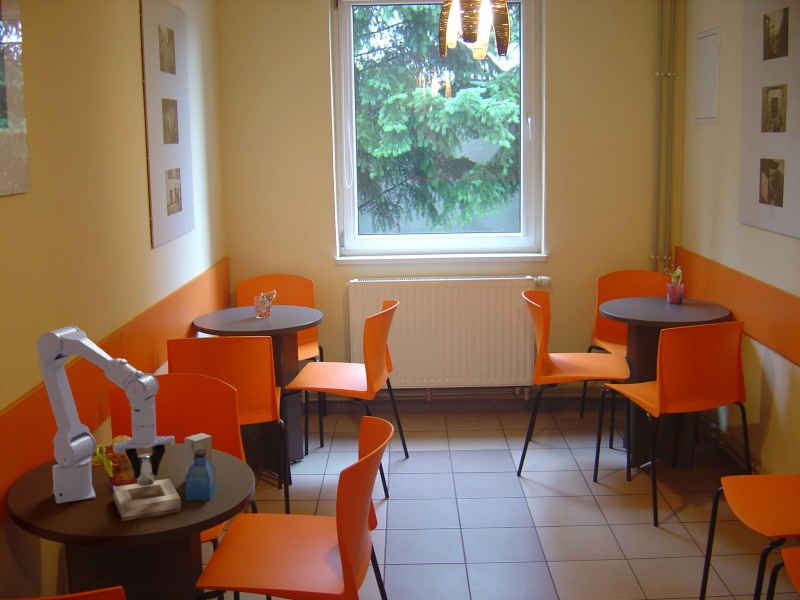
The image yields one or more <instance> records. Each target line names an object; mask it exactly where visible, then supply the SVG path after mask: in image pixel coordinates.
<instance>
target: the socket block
mask: <svg viewBox="0 0 800 600" xmlns="http://www.w3.org/2000/svg"><path fill="white" fill-rule="evenodd" d="M112 489H113V501H114V503H115V506H116V508H117V511H118V513H119V516H120V519H121V521H122V522H126V521H132V519H133V520H137V519H138V518H139V519H144V517H145V518H149V516H150V517H156V516H161V515H166V514H167V515H168V514H174V513H179V512H181V511H182V506H181V496H180V495H179V493H178V491H177V490H176V488H175V486H174V485H173V483H172V482H171V479H170V478H165V479H158V480H154V484H152V485H148V486H140V485H138V482H137V483H132V484H125V485H118V486H113V488H112ZM125 520H126V521H125Z"/></svg>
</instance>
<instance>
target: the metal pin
mask: <svg viewBox="0 0 800 600" xmlns="http://www.w3.org/2000/svg"><path fill="white" fill-rule="evenodd" d="M137 455H138V454H137ZM138 474H139V478H137V483H138V485H140V486H148V485H152V484H154V481H155V475H154V463H153V453H140V454H139V455H138Z"/></svg>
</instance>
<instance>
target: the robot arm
mask: <svg viewBox="0 0 800 600" xmlns="http://www.w3.org/2000/svg"><path fill="white" fill-rule="evenodd" d="M36 347H37V350H38V351H37V352H38V354H39V355H38V365H39V369H40V373H41V376H42V380H43V382H44V386H45V390H46V392H47V396H48V400H49V403H50V405H51V406H50V407H51V410H52V413H53V416H54V419H55V423H56V426H57V432H56V433H55V436H54V438H52V439H53V440H52V442H53V445H54V448H53V449H54V450H53V455H54V456H53V457H54V458H55V461H56V462H57V463H58V464H55V465H52V479H53V480H52V481H53V486H52V493H53V495H54V500H55V503H56V504H63V503H69V502H70V503H71V502H76V501H77V502H78V501H83V500H88V499H95V498H96V497H97V496H96V495H97V494H96V492H95V489H94V486H93V482H92V481H93V478H92V477H93V476H92V459H93V454H94V453H95V452H96V450H97V441H96V438H94V436H93V435H92V434H91V432H90V428H89V426H86V425H85V424H83V423H81V420H80V417H79V414H78V410H77V406H76V404H75V403H76V402H75V400H74V396H73V393H72V390H71V387H70V383H69V379H68V376H67V372H66V370H65V364H66V361H67V360H68V359H69V357H70V356H74V355H77V356H78V355H79V356H80V357H82V358H84V359H86V360H87V361H89V362H90V363H92V364H93V365H96V366H97V367H98V368H100V369H102V370H103V372H104V377H106V379H108V381H111V382H112V383H114V384H115V385H117V387H119V388H120V389H122V390H124V392H125V395H126V398H127V399H128V401H129V407H130V411H131V412H130V414H131V434H132V435H131V436H132V439H128V440H123V441H119V442H115V443H113V452H114V454H119V453H120V452H125V454H126V456H127V457H128V460H129V462H130V464H131V468H132V470H133V476H134V478H135V479H138V478H139V474H138V453H137V450H142V449H150V448H151V454H152V455H153V463H154V477H155V476H158V473H159V468H160V464H161V461H162V459H163V457H164V455H165V453H166V447H165V446H175V445H176V440H175V439H176V438H175V436H174V435H168V436H167V435H165V436H164V435H162V436H157V422H156V421H157V420H156V417H157V414H156V396H155V395H157V394H158V392H159V390H160V382H159V380H158V379H157V378H156V377H155V375H154V374H153V373H144V372H142V371H141V370H137V368H135V367H133V366H132V365H131V364H129V363H128V360H126V359H125V358H120V357H117V358H113V357H111V356H110V355H109V354H108V353H106V352H105V350H103V349H102V348H100V347H99V346H98V345H97V344H95V343H94V342H93V341H92V340H91V339H89V338H88V337H87V334H86V332H85V331H83V330H81V329H80V328H79V327H78V326H76V325H72V324H71V325H66V326H65V327H61V328H57V329H53V330H51V331H46V332H43V333H42V334H41V335H40V337H39V338H38V340H37V341H36Z"/></svg>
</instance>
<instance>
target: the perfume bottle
mask: <svg viewBox="0 0 800 600" xmlns="http://www.w3.org/2000/svg"><path fill="white" fill-rule="evenodd" d="M193 460H194V463H193V464H192V465H191V467H190V469H189V471H188V473H187V475H186V480H185V500H186V501H211V500H212V498H213V496H214V495H215V493H216V492H217V485H216V484H217V480H216V479H217V478H216V468H215V466H214V465H213V462H212V463H211V462H210V461H206V460H207V455H206V450H203V449H200V450H195V451H194V456H193Z"/></svg>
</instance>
